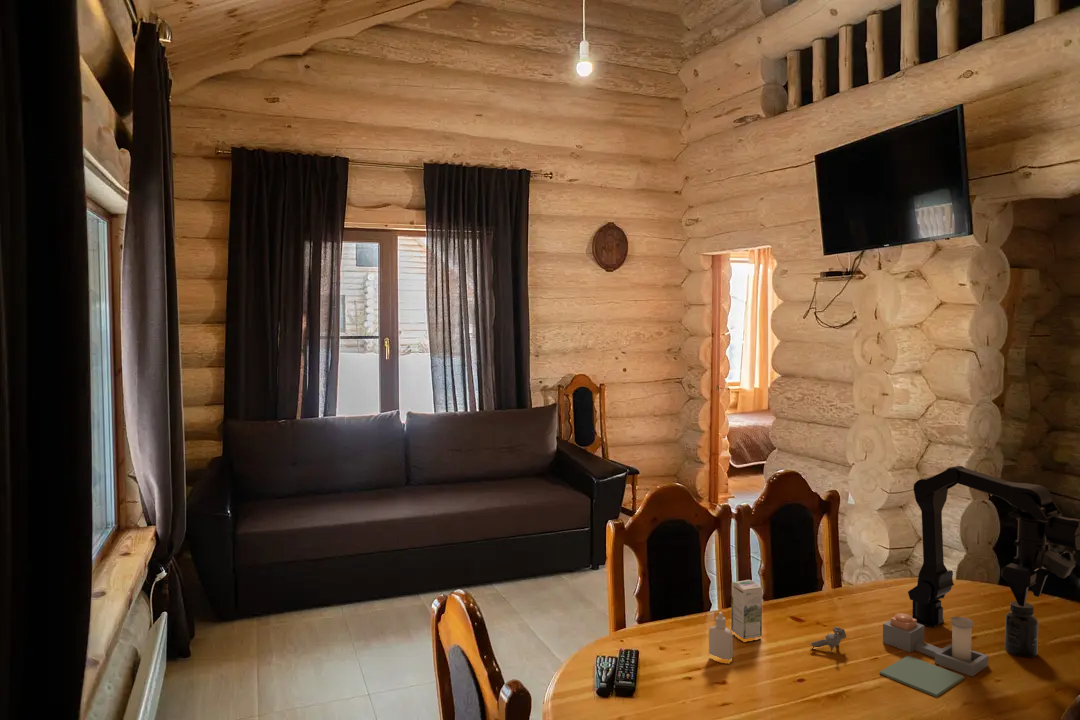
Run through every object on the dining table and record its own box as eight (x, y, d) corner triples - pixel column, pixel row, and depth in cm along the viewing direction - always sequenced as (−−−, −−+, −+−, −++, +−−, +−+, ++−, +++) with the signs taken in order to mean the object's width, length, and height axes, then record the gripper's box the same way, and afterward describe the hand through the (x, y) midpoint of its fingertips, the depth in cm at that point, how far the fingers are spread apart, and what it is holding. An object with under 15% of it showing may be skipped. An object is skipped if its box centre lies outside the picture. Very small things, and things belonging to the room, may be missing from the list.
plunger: (890, 637, 187) (890, 616, 186) (899, 632, 189) (899, 611, 189) (907, 643, 183) (907, 621, 183) (916, 638, 186) (916, 617, 185)
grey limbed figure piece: (807, 640, 190) (841, 629, 188) (817, 663, 186) (852, 652, 184) (805, 629, 182) (840, 617, 181) (815, 653, 178) (852, 641, 177)
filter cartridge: (946, 663, 175) (947, 620, 175) (955, 658, 178) (956, 615, 177) (967, 671, 172) (967, 626, 171) (975, 665, 174) (976, 621, 174)
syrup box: (749, 631, 195) (749, 578, 194) (762, 640, 190) (762, 586, 189) (730, 634, 193) (730, 581, 192) (743, 644, 188) (743, 589, 187)
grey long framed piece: (881, 643, 187) (881, 624, 186) (898, 634, 191) (898, 615, 191) (971, 676, 169) (972, 655, 169) (988, 665, 174) (988, 645, 174)
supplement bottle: (1042, 659, 177) (1044, 611, 176) (1011, 657, 178) (1012, 609, 177) (1030, 646, 183) (1031, 599, 182) (999, 644, 185) (1000, 598, 184)
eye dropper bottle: (721, 653, 183) (721, 607, 182) (735, 663, 178) (734, 615, 177) (706, 656, 181) (706, 609, 181) (719, 667, 176) (719, 618, 175)
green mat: (879, 674, 171) (879, 671, 171) (907, 657, 179) (907, 655, 179) (936, 697, 161) (936, 694, 161) (964, 678, 168) (964, 676, 168)
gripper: (1056, 555, 163) (1053, 623, 165) (1085, 538, 175) (1082, 601, 176) (1001, 542, 172) (998, 606, 174) (1032, 527, 183) (1030, 587, 185)
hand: (1029, 600), depth 177 cm, fingers open, 9 cm apart
